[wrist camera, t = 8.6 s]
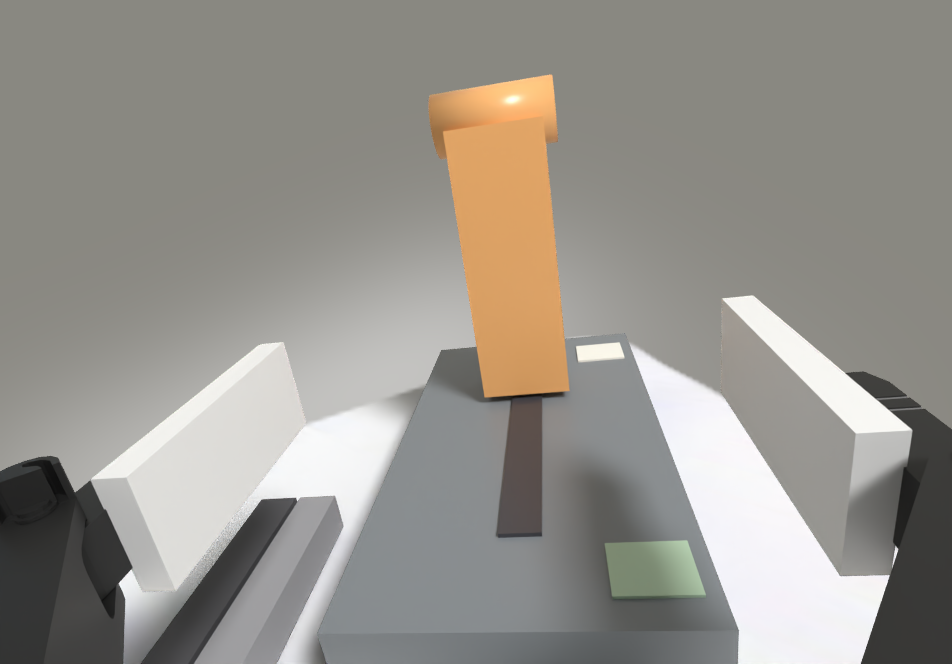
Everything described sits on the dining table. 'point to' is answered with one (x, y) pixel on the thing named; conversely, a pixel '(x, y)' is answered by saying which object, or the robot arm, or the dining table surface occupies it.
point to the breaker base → (532, 531)
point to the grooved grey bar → (254, 587)
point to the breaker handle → (506, 228)
